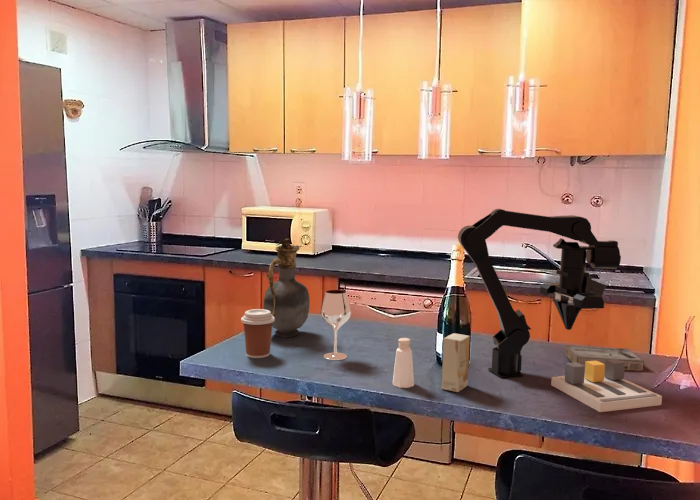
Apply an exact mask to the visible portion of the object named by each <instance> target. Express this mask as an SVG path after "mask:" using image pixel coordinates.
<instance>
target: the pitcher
mask: <svg viewBox="0 0 700 500" xmlns="http://www.w3.org/2000/svg"><path fill="white" fill-rule="evenodd" d="M290 242H291V239H290V238H285V239H284V240H281V241H279V242H278V243H277V244H276V245H275V248H274V249H275V251H276V252H277V258H276V257H275V258H274V259H272V261H271V263H270V264H269V269H268V284H269V286H268V287H267V289H266V290H265V292H264V298H263V307H262V309H265V310H269V311H270V312H271V315H272V316H274V318H275V321H274V322H272V329H276V330H275V331H274V335H275V336H277V337H280V338H293V337H296V336H298V335H299V334H300V332H299V330H298V329H300V328H301V327H302V326H304V324H305V323H306V321H307V319H308V318H309V314H310V313H309V312H310V311H309V310H310V294H309V290H308V288H307V286H305V285H304V284H303V283H301V282H300V281H297V280H296V276H295V275H296V267H297V263H296V261H297V260H296V259H297V258H296V257H297V252H298V251H299V250H300V245H297V244H296V245H291V243H290ZM276 265H277V268H278V280H277V281H275V282H274V279H273V278H274V277H273V276H274V274H273V273H274V269H275V267H276Z"/></svg>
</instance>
